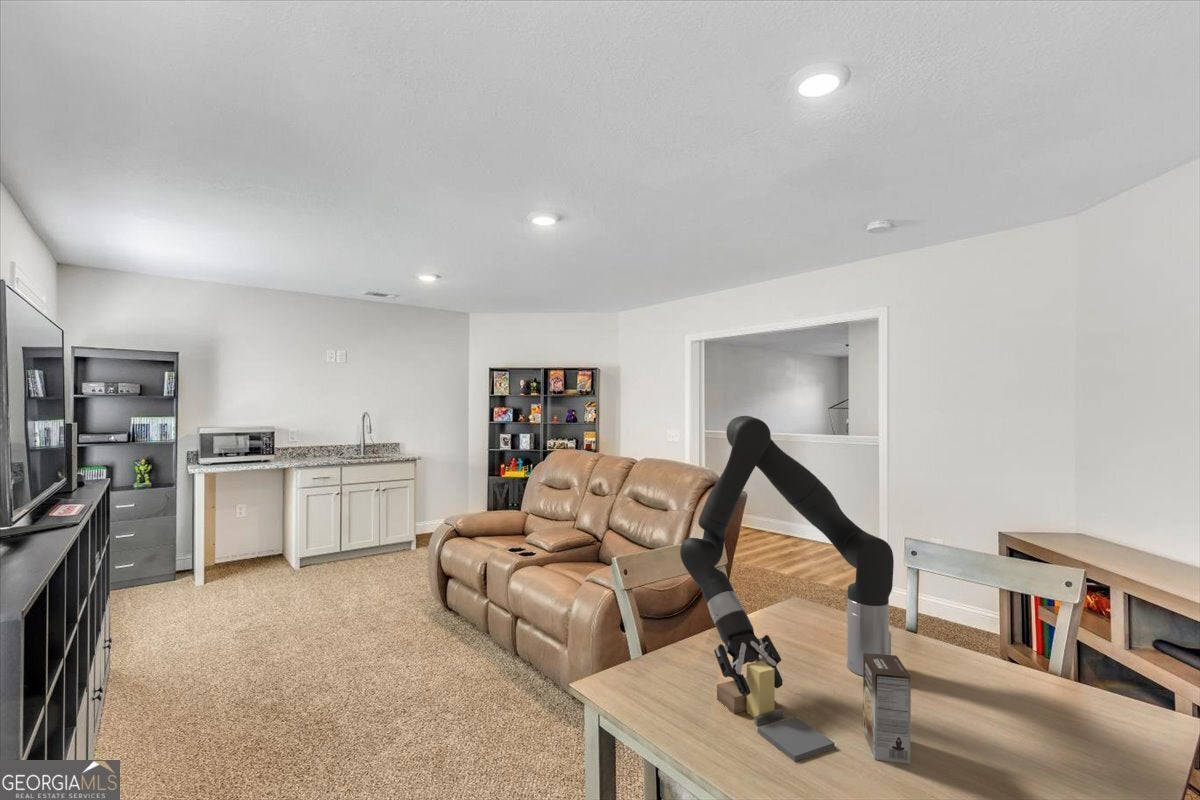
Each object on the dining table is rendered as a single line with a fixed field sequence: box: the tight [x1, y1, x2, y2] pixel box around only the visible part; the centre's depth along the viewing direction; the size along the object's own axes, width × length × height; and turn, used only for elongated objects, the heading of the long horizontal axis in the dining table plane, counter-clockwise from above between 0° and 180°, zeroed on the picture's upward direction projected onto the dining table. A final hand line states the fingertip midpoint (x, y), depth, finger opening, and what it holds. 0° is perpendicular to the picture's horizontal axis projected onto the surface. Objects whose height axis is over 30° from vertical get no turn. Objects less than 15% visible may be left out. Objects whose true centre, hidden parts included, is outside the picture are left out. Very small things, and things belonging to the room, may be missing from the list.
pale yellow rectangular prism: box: [746, 661, 775, 717], centre depth 118 cm, size 4×4×10 cm
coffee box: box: [862, 653, 912, 765], centre depth 107 cm, size 9×6×16 cm
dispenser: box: [716, 676, 785, 727], centre depth 121 cm, size 10×11×4 cm
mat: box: [757, 715, 836, 763], centre depth 109 cm, size 10×10×1 cm
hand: (763, 690), depth 117 cm, fingers open, 8 cm apart
